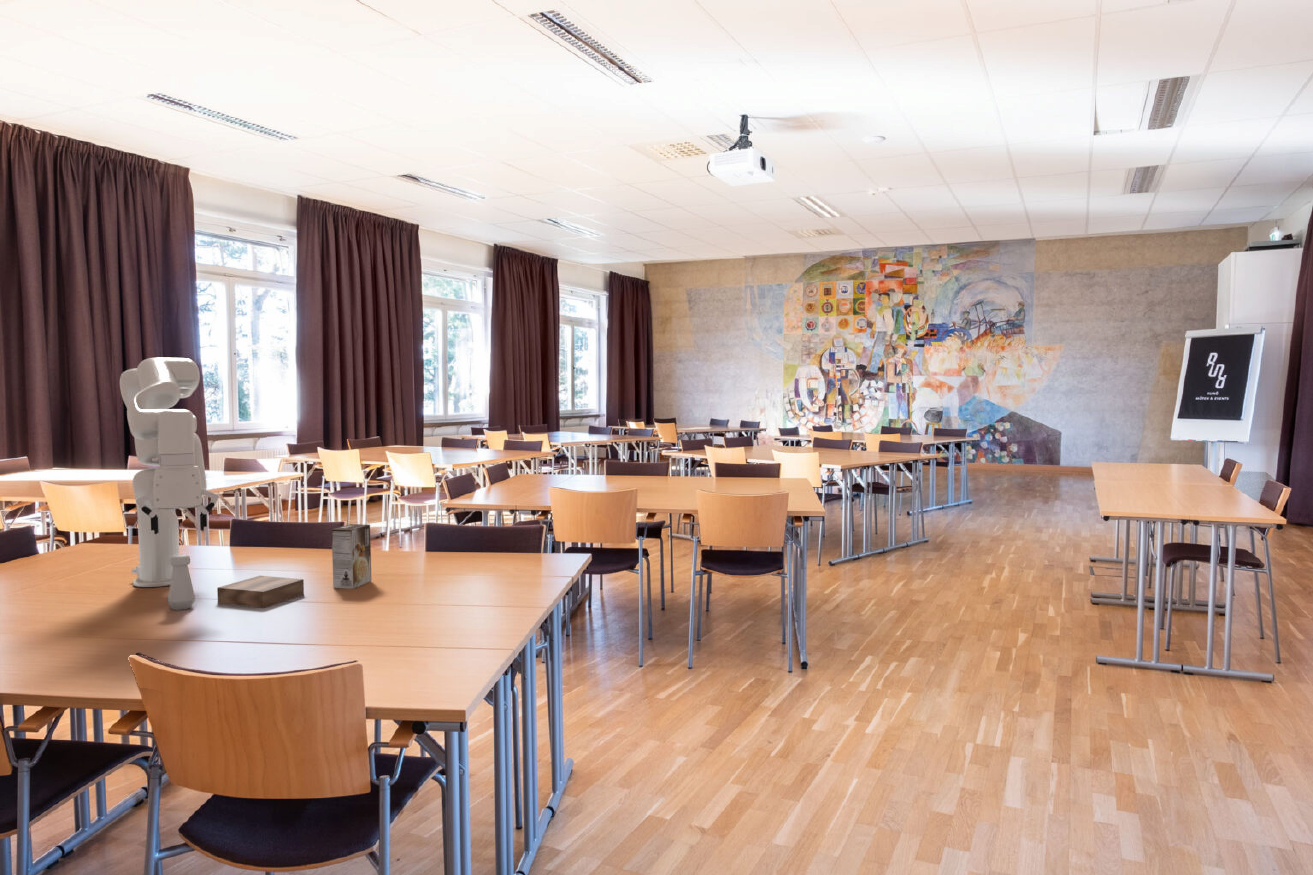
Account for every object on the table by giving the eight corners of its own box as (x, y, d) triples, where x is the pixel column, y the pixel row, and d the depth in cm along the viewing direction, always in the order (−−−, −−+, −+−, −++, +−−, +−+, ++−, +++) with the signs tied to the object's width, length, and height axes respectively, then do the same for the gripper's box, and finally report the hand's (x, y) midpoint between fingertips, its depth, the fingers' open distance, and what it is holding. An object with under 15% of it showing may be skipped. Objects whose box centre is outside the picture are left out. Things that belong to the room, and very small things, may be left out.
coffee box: (351, 580, 231) (350, 523, 230) (372, 581, 230) (371, 524, 229) (332, 588, 222) (330, 528, 222) (353, 589, 221) (352, 529, 220)
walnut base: (217, 603, 206) (217, 587, 206) (260, 590, 220) (259, 575, 219) (263, 607, 202) (263, 591, 202) (303, 594, 215) (303, 579, 215)
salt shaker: (175, 605, 205) (173, 552, 204) (199, 604, 205) (198, 552, 204) (163, 611, 199) (161, 557, 198) (188, 610, 199) (186, 557, 199)
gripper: (133, 463, 192) (136, 536, 193) (217, 460, 200) (219, 530, 201) (136, 461, 199) (139, 532, 200) (217, 458, 207) (220, 526, 208)
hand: (179, 531), depth 201 cm, fingers open, 9 cm apart
